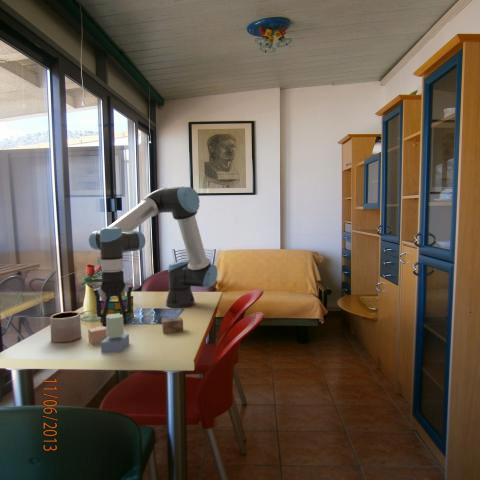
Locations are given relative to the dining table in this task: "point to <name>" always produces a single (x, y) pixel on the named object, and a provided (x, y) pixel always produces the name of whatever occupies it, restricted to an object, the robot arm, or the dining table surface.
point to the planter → (65, 327)
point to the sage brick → (115, 325)
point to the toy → (117, 306)
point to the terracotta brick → (97, 334)
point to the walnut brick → (172, 325)
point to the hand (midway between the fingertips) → (114, 333)
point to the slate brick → (114, 344)
